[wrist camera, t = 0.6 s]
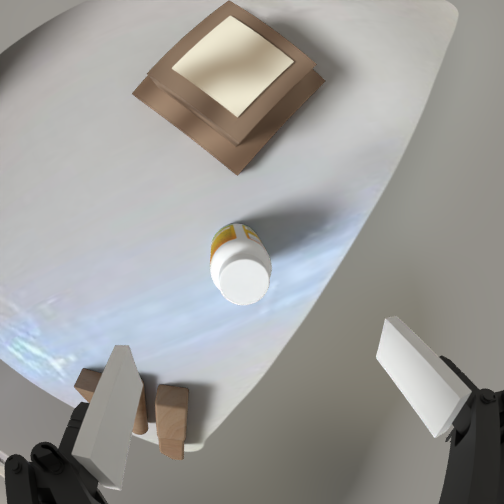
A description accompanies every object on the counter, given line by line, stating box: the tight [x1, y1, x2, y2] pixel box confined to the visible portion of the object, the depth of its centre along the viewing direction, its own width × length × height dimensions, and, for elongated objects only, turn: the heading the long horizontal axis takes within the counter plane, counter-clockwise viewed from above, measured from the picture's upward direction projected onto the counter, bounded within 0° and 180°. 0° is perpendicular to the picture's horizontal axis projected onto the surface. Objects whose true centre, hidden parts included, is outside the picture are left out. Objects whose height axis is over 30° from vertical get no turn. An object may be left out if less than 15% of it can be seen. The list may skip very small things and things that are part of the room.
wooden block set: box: [74, 368, 189, 460], centre depth 35 cm, size 17×6×18 cm
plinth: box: [132, 1, 325, 176], centre depth 21 cm, size 14×14×7 cm
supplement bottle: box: [210, 224, 272, 305], centre depth 26 cm, size 5×5×10 cm
